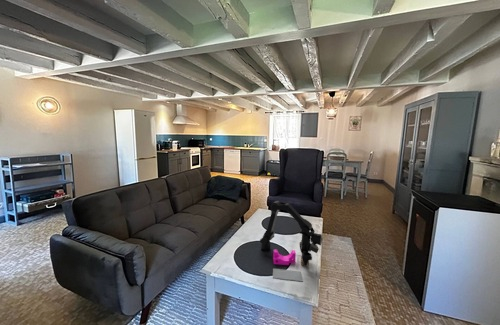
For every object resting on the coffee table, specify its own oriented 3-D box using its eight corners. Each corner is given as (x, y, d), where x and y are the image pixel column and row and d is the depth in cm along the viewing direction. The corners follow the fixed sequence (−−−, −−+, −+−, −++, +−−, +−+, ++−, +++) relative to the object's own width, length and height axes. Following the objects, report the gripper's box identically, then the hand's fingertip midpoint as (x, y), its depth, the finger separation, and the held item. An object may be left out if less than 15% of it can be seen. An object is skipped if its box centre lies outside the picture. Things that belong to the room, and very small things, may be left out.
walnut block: (301, 265, 140) (301, 259, 140) (300, 261, 145) (301, 255, 145) (308, 266, 139) (309, 260, 139) (308, 262, 144) (308, 256, 144)
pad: (272, 278, 126) (272, 277, 126) (273, 269, 135) (273, 268, 135) (302, 281, 124) (302, 281, 124) (301, 272, 133) (301, 271, 133)
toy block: (273, 264, 140) (274, 254, 140) (273, 259, 147) (273, 249, 146) (295, 265, 140) (296, 255, 139) (294, 260, 146) (294, 250, 145)
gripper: (320, 248, 130) (319, 271, 132) (315, 235, 148) (314, 255, 150) (302, 247, 131) (301, 269, 133) (299, 233, 150) (298, 253, 152)
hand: (304, 261), depth 142 cm, fingers open, 8 cm apart
